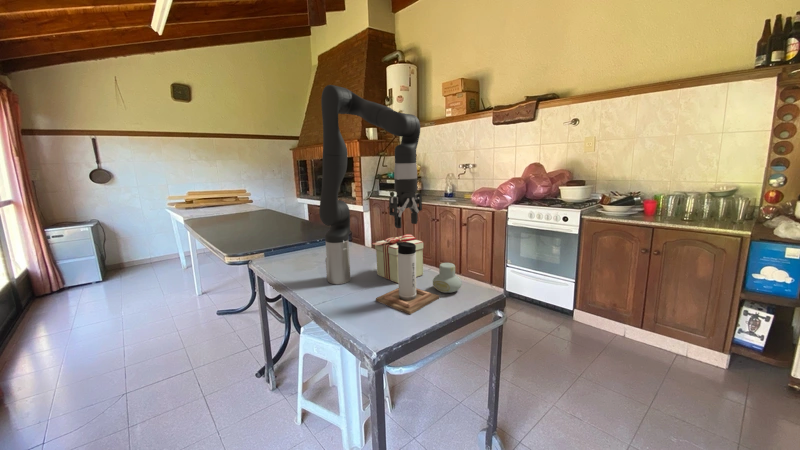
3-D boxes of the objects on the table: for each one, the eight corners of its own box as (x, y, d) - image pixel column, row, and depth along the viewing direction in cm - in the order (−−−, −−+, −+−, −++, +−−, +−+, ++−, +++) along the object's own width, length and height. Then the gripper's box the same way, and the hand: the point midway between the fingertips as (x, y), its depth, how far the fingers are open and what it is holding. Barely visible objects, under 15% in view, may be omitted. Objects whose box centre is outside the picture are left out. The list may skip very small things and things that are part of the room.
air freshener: (429, 290, 123) (429, 265, 121) (440, 283, 129) (440, 259, 127) (454, 297, 116) (455, 270, 114) (465, 289, 123) (465, 264, 121)
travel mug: (397, 293, 118) (395, 240, 114) (415, 292, 118) (414, 239, 114) (398, 301, 112) (397, 245, 107) (417, 300, 112) (417, 244, 108)
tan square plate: (375, 300, 115) (375, 295, 114) (405, 287, 126) (405, 282, 126) (410, 314, 104) (410, 308, 104) (439, 298, 116) (439, 292, 115)
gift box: (395, 265, 152) (395, 229, 149) (425, 274, 139) (425, 235, 136) (367, 274, 141) (366, 236, 137) (397, 286, 128) (396, 243, 124)
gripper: (411, 175, 114) (411, 221, 117) (382, 178, 104) (383, 227, 107) (428, 176, 109) (428, 223, 112) (399, 178, 99) (400, 231, 102)
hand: (406, 225), depth 110 cm, fingers open, 8 cm apart
